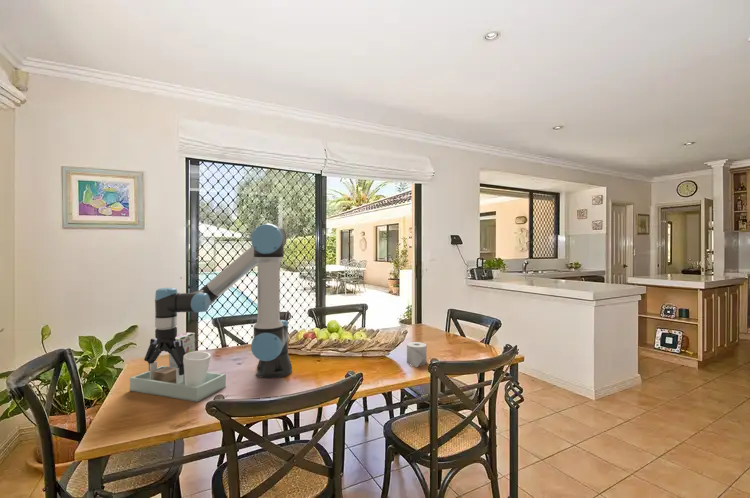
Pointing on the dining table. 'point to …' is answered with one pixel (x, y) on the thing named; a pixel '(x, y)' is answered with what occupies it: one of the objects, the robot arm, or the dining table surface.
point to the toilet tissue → (416, 353)
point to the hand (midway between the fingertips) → (166, 381)
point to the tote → (178, 386)
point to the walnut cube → (165, 375)
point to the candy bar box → (184, 346)
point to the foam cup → (196, 367)
